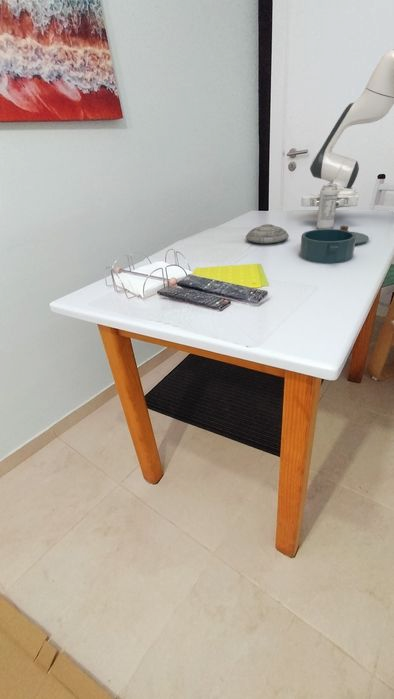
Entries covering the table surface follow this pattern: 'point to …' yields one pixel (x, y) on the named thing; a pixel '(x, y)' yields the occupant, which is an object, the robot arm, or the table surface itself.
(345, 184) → the robot arm
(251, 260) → the table surface
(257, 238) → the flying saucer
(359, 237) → the pot lid
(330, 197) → the energy drink can
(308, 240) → the pot
